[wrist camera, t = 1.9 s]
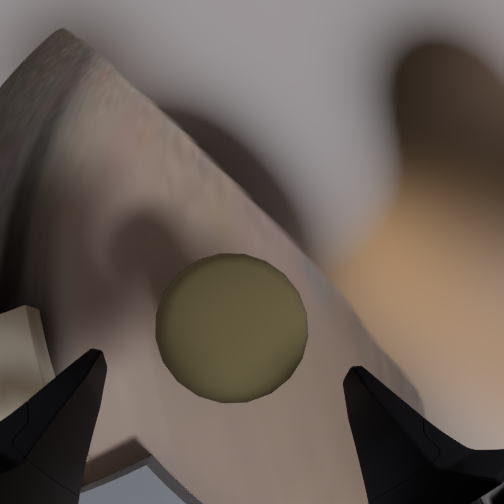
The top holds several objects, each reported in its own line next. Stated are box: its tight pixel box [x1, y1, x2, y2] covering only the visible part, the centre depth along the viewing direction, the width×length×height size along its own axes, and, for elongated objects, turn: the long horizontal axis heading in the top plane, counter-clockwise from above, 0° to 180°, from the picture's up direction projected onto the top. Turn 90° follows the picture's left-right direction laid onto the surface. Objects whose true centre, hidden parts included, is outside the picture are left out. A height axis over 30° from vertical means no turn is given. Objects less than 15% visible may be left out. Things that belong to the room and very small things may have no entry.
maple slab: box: [0, 305, 90, 462], centre depth 12 cm, size 12×12×2 cm
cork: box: [156, 253, 308, 403], centre depth 13 cm, size 6×6×11 cm
